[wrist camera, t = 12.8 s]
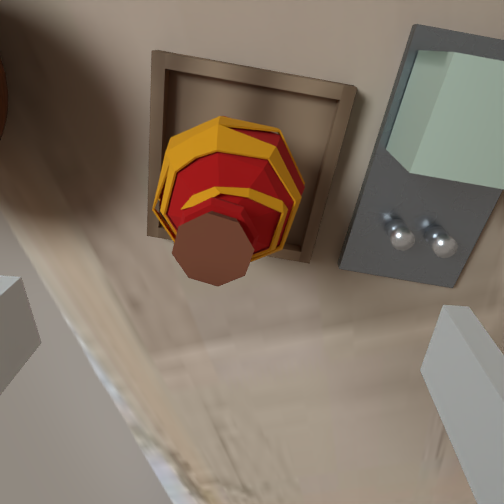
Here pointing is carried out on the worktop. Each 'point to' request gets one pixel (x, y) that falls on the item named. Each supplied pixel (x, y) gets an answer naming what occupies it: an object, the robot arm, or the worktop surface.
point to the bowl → (3, 99)
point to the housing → (452, 119)
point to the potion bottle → (227, 197)
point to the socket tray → (256, 111)
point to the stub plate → (417, 192)
